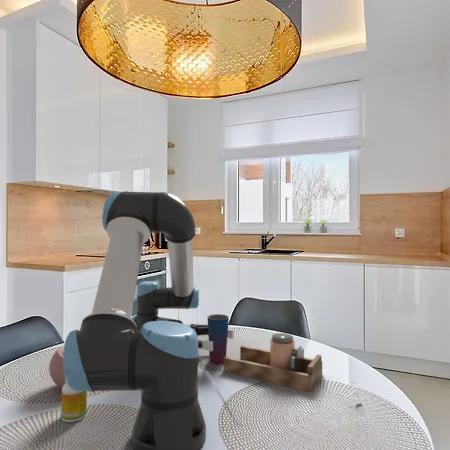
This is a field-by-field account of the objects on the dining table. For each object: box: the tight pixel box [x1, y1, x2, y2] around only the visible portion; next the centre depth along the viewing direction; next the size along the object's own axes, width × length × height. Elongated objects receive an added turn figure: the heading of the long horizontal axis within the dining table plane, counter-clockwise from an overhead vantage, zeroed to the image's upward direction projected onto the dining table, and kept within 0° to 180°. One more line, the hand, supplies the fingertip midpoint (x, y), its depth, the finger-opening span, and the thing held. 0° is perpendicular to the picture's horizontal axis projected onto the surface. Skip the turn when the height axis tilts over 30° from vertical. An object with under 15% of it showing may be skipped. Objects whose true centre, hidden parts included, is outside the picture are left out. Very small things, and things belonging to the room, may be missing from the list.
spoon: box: [350, 381, 367, 417], centre depth 89 cm, size 4×21×2 cm, turn 168°
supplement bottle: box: [61, 378, 88, 423], centre depth 82 cm, size 5×5×10 cm
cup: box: [207, 313, 230, 365], centre depth 113 cm, size 7×7×15 cm
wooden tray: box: [223, 345, 323, 393], centre depth 104 cm, size 26×12×7 cm, turn 61°
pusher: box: [291, 344, 305, 373], centre depth 101 cm, size 1×9×9 cm, turn 151°
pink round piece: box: [48, 347, 66, 389], centre depth 97 cm, size 12×12×12 cm
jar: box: [269, 332, 296, 370], centre depth 103 cm, size 7×7×11 cm
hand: (223, 340), depth 113 cm, fingers open, 13 cm apart
